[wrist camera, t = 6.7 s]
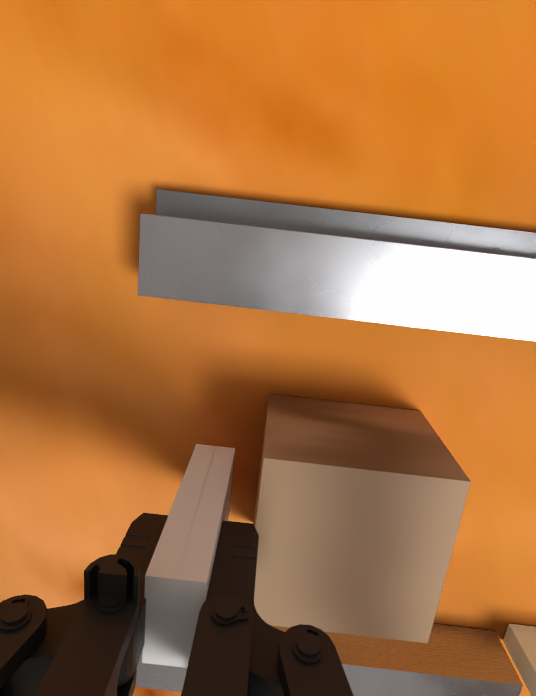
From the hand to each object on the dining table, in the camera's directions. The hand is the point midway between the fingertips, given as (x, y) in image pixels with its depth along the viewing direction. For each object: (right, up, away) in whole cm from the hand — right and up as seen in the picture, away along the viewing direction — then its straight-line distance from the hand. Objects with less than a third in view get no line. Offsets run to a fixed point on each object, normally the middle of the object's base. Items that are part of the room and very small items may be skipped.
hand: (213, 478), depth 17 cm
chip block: (+5, 0, +1) cm, 5 cm away
